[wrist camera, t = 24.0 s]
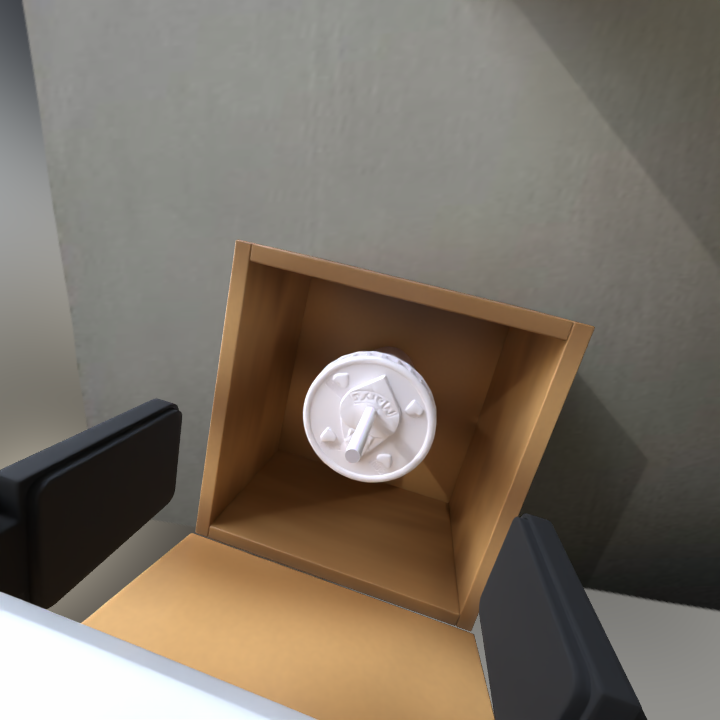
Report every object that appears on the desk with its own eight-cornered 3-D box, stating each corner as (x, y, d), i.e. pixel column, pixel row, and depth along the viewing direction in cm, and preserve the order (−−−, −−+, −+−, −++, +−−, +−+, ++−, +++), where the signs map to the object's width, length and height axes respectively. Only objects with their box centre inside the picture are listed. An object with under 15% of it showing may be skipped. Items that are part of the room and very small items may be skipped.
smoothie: (447, 347, 25) (473, 426, 11) (413, 426, 26) (399, 577, 13) (362, 314, 25) (289, 351, 12) (333, 394, 27) (241, 506, 13)
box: (308, 255, 26) (235, 239, 16) (525, 308, 24) (595, 327, 14) (271, 449, 30) (194, 533, 20) (455, 508, 28) (471, 632, 18)
